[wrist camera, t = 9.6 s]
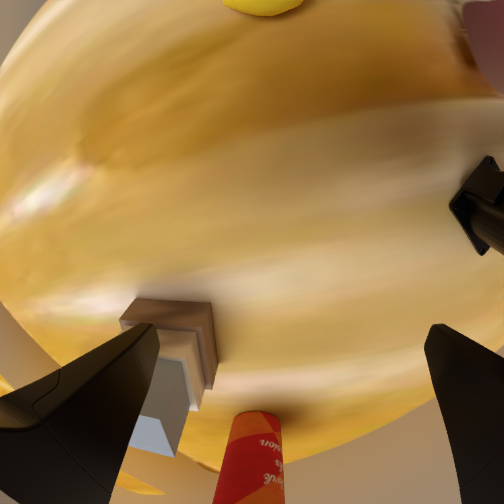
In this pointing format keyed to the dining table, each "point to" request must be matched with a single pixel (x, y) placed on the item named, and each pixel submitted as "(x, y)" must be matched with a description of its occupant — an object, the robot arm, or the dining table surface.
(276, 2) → the lemon
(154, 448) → the slate brick
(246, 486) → the paper cup
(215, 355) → the tower base
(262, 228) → the dining table surface
